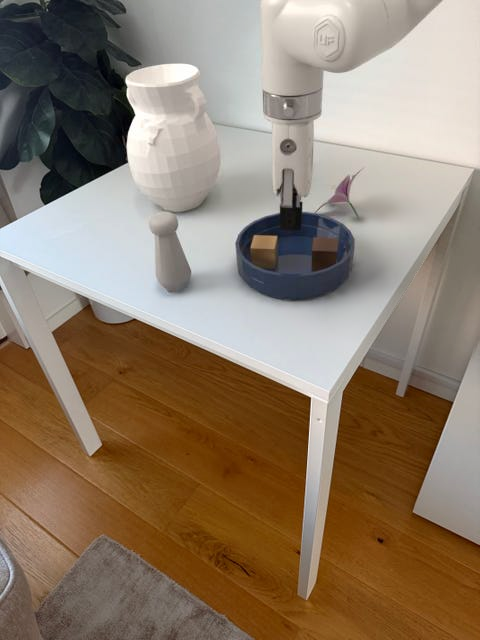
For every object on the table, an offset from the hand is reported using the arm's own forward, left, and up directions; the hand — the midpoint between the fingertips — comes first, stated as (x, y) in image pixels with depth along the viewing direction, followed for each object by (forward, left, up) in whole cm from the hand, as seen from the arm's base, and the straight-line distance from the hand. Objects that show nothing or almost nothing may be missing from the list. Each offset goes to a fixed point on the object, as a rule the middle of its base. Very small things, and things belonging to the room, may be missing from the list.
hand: (290, 227), depth 74 cm
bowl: (0, -3, -9) cm, 10 cm away
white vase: (+26, -25, -10) cm, 37 cm away
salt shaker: (+19, +4, -10) cm, 21 cm away
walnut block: (-5, -3, -9) cm, 11 cm away
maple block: (+5, -3, -9) cm, 10 cm away
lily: (-7, -21, -10) cm, 24 cm away
